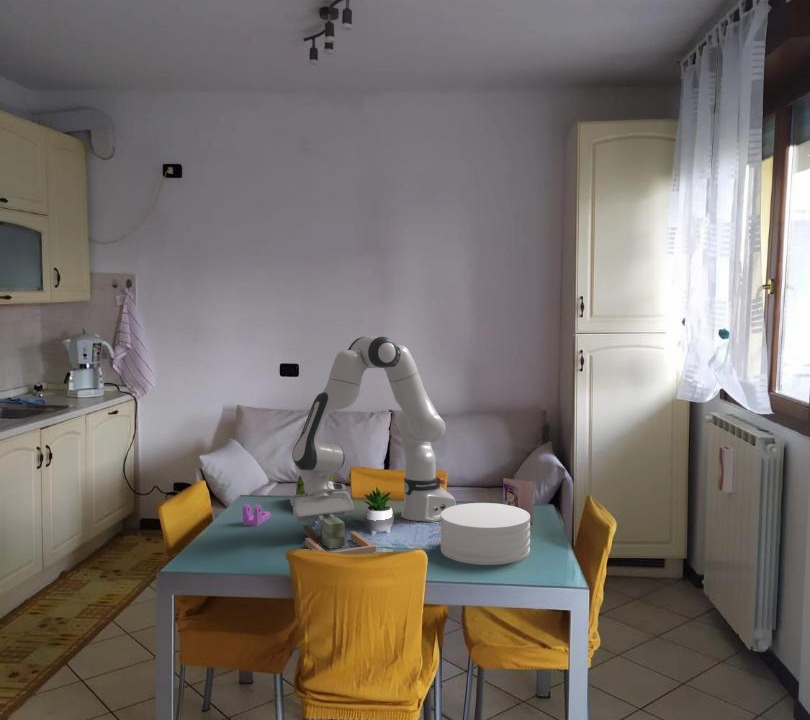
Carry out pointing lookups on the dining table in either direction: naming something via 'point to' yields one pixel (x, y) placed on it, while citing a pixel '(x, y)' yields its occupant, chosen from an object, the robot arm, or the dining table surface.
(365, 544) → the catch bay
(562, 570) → the dining table surface
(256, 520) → the bracket
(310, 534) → the walnut chute
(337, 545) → the sage block
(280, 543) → the dining table surface
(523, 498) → the greeting card
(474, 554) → the plate stack
